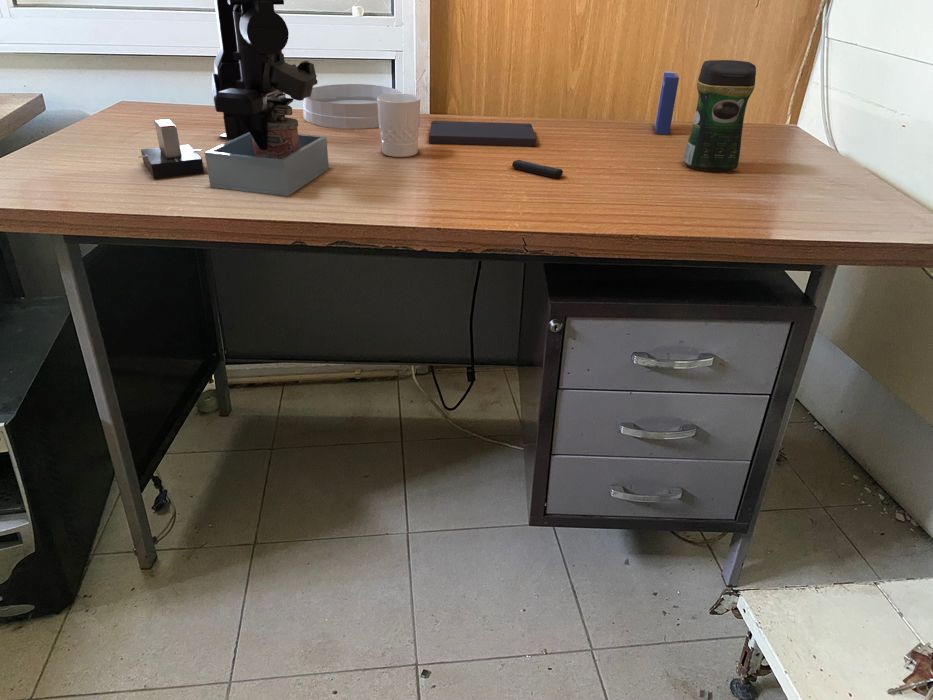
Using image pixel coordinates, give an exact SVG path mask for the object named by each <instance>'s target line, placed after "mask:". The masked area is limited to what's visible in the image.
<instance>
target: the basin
mask: <svg viewBox="0 0 933 700" xmlns="http://www.w3.org/2000/svg"><path fill="white" fill-rule="evenodd" d="M298 138H299V146H300V149H299V150H297V151H295V152H294V153H292V154H290V155H288V156H287V157H285V158H283V159H277V158H267V157H258V156H255V154H254V148H253V141H252V135H251V134H250V132H248V133H246V134H244V135H242V136H239V137H237V138H235V139H230V140H229V141H226V142H225V143H222V144H220V145H217V146H215V147H213V148H211V149H208V150H207V151H205V152H204V156H205V157H204V158H205V164H206V170H207V176H208V182H209V187H210V188H215V189H222V190H232V191H240V192H249V193H258V194H266V195H273V196H275V195H276V196H283V197H289V196H291V195H292V194H294V193H295V192H297V191H298V190H300V189H301V188H303V187H304V186H305V185H307V184H309V183H310V182H311V181H314V179H316V178H318V177H319V176H320V175H322V174H323V173H325V172H326V171H328V170H329V169H330V167H329V152H328V138H327V136H324V135H315V134H314V135H313V134H312V135H311V134H306V133H305V134H304V133H298Z"/></svg>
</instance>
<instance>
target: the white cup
mask: <svg viewBox="0 0 933 700" xmlns="http://www.w3.org/2000/svg"><path fill="white" fill-rule="evenodd" d="M377 104H378V117H379V127H378V128H379V137H380V139H381V140H380V145H381V153H382V154H383V155H385V156H388V157H393V158H407V157H412V156H416V155H417V154H418V152H419V136H420V121H421V120H420V119H421V96H419V95H416V94H412V93H403V92H402V93H392V94H384V95H380V96H378V97H377Z"/></svg>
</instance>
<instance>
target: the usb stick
mask: <svg viewBox="0 0 933 700" xmlns="http://www.w3.org/2000/svg"><path fill="white" fill-rule="evenodd" d="M511 167H512V168H513V169H515V170H516V169H517V170H520V171H525V172H528V173H533V174H536V175H541V176H545V177H549V178H553V179H559V178H561V177H562V176H563V173H564V171H563V168H558V167H553V166H547V165H544V164H539V163H536V162H535V163H534V162H530V161H525V160H521V159H516V160H513V162H512V165H511Z"/></svg>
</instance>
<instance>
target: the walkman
mask: <svg viewBox="0 0 933 700" xmlns="http://www.w3.org/2000/svg"><path fill="white" fill-rule="evenodd" d="M679 81H680V76H679V73H678V72H677V71H669V70H663V74H662V80H661V85H660V92H659V97H658V103H657V109H656V116H655V122H654V130H655V135H665V136H666V135H667V136H669V135H670V132H671V127H672V120H673V114H674V109H675V103H676V98H677V92H678V87H679Z"/></svg>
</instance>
